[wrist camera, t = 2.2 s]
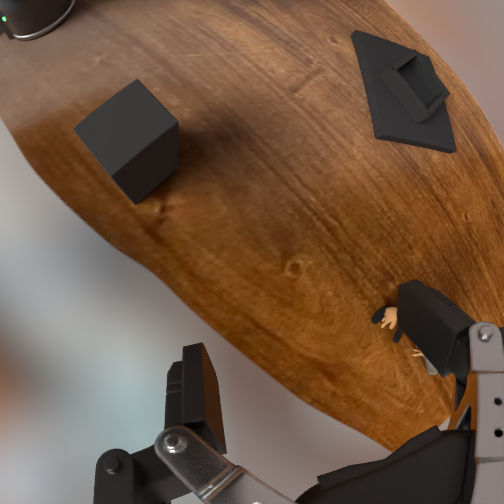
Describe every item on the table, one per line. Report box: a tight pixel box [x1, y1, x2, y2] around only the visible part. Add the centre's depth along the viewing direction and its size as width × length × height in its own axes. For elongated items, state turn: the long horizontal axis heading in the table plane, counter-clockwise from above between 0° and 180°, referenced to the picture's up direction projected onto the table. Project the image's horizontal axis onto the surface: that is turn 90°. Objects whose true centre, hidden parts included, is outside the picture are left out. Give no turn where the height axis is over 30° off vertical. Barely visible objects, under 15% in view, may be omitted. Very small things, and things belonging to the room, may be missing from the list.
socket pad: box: [351, 30, 457, 153], centre depth 31 cm, size 14×16×4 cm
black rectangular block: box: [73, 79, 179, 205], centre depth 21 cm, size 5×4×10 cm
